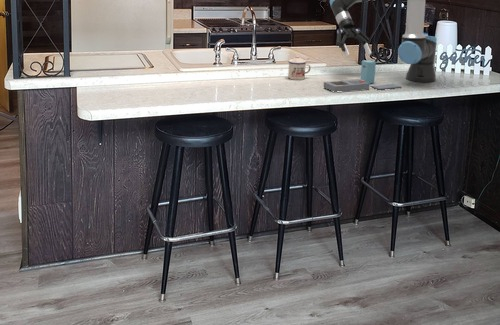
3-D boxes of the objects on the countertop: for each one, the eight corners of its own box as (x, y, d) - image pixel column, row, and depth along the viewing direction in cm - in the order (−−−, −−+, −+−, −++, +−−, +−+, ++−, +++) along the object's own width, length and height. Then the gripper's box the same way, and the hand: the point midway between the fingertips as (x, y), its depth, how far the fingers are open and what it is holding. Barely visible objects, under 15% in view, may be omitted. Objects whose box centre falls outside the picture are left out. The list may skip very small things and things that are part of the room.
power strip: (357, 85, 325) (357, 78, 324) (369, 89, 317) (369, 82, 316) (323, 88, 317) (323, 81, 316) (334, 92, 309) (334, 85, 307)
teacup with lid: (290, 80, 332) (291, 57, 328) (285, 76, 340) (286, 54, 336) (312, 79, 335) (314, 57, 331) (307, 76, 343) (308, 54, 339)
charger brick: (368, 81, 334) (370, 60, 331) (374, 83, 330) (375, 61, 326) (360, 82, 332) (361, 60, 328) (365, 84, 328) (367, 62, 324)
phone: (392, 86, 327) (392, 83, 327) (401, 89, 321) (401, 86, 321) (369, 88, 321) (370, 86, 321) (378, 91, 315) (378, 89, 315)
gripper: (361, 25, 350) (375, 58, 342) (321, 27, 340) (335, 61, 332) (368, 16, 343) (382, 49, 336) (327, 18, 333) (341, 52, 326)
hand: (358, 55), depth 334 cm, fingers open, 13 cm apart
